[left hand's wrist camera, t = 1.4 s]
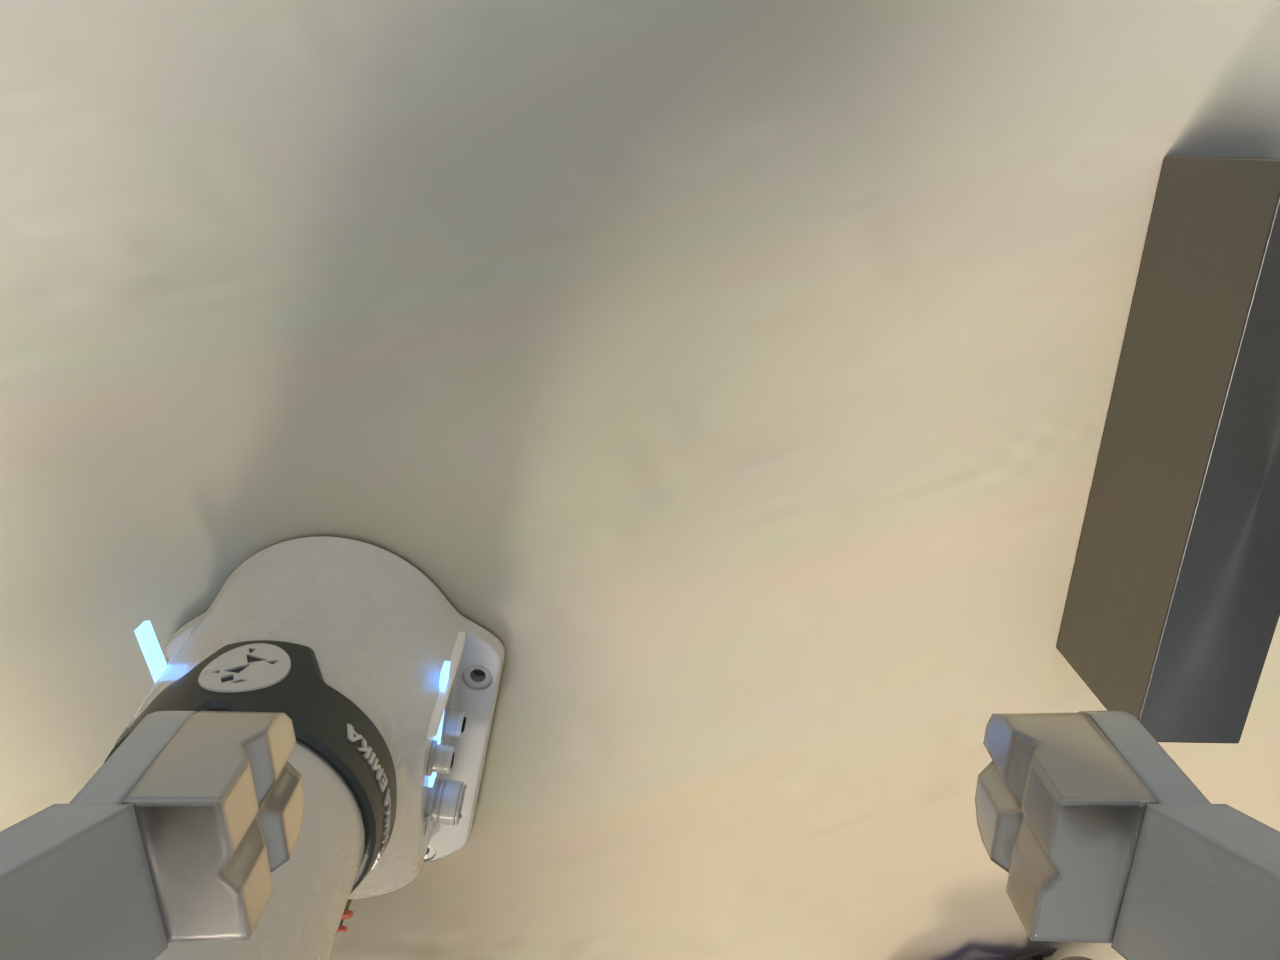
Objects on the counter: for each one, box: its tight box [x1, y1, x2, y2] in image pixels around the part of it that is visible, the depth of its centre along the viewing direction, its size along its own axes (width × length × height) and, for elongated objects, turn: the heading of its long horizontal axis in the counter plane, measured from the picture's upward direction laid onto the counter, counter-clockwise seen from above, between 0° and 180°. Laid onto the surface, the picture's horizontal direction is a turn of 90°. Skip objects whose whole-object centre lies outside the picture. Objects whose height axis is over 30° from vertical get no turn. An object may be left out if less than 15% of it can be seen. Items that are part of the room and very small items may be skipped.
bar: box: [1056, 156, 1280, 743], centre depth 42 cm, size 26×5×8 cm, turn 179°
